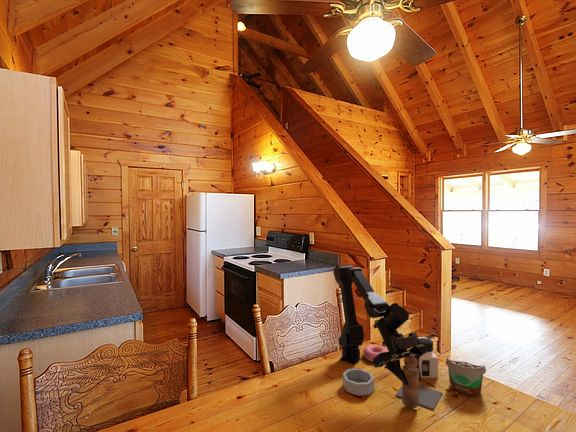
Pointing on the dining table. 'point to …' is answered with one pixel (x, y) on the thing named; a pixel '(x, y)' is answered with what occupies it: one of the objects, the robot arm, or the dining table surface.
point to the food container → (465, 377)
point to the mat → (426, 397)
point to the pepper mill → (411, 382)
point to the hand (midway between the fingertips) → (413, 383)
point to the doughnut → (373, 351)
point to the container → (428, 360)
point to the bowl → (358, 381)
